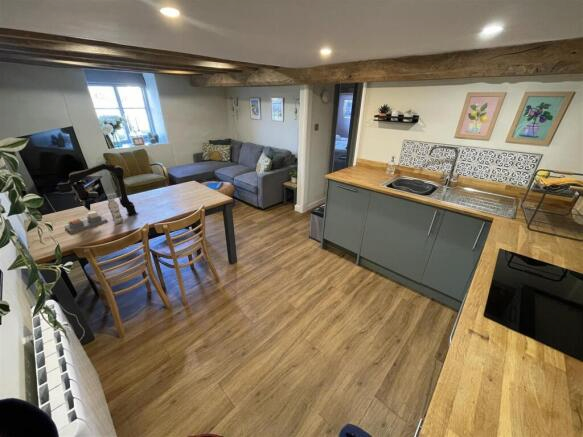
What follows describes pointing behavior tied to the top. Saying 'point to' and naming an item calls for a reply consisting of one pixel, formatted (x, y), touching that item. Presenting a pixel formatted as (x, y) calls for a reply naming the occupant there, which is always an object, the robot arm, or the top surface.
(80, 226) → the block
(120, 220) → the plastic bottle
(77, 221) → the orange cube
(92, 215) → the beige cube
